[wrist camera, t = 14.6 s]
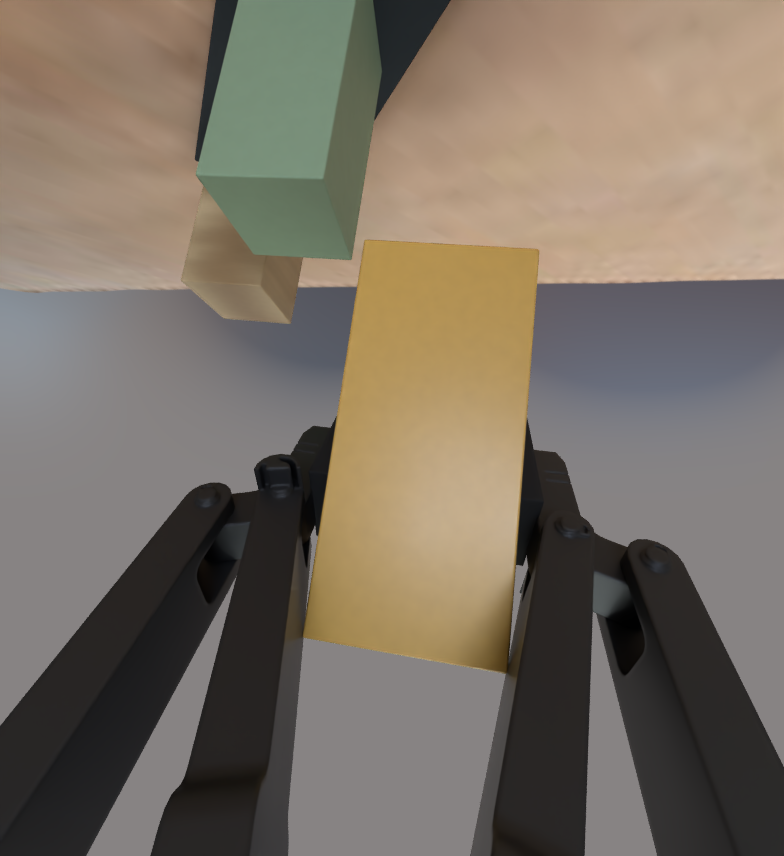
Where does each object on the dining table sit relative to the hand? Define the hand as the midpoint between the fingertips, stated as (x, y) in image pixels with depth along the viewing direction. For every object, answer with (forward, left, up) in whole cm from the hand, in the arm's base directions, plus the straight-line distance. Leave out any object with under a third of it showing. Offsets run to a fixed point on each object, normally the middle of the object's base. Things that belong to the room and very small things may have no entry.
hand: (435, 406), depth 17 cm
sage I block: (-7, +2, -18) cm, 19 cm away
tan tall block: (-13, -6, -18) cm, 23 cm away
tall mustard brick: (0, +4, -3) cm, 5 cm away
